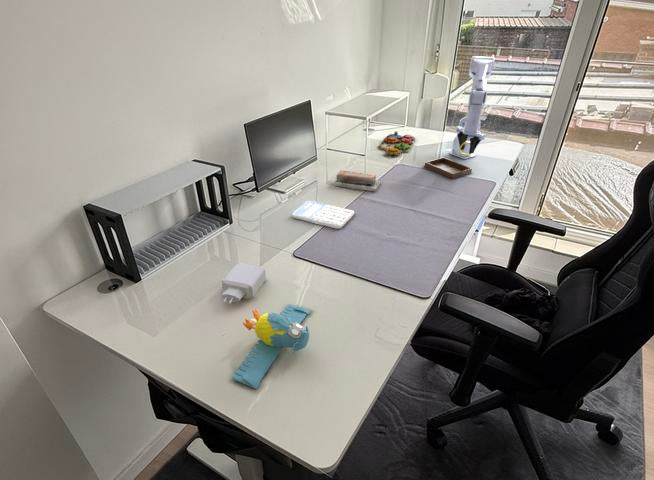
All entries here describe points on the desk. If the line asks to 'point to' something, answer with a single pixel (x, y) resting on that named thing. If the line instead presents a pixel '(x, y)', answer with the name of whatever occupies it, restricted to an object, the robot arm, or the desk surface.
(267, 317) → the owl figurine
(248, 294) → the charger
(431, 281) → the desk surface
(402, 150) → the gear puzzle
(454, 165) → the tray
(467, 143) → the watch
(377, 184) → the packaged product
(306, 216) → the calculator
